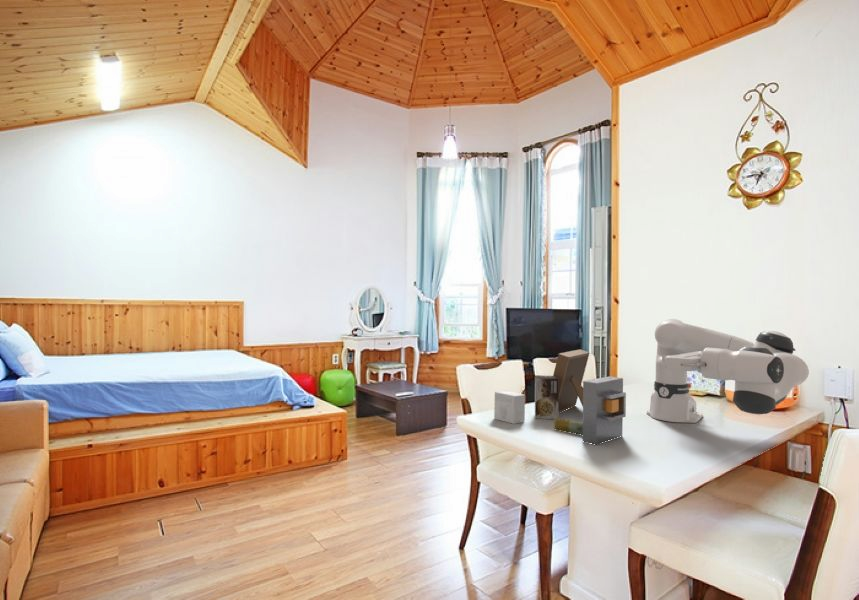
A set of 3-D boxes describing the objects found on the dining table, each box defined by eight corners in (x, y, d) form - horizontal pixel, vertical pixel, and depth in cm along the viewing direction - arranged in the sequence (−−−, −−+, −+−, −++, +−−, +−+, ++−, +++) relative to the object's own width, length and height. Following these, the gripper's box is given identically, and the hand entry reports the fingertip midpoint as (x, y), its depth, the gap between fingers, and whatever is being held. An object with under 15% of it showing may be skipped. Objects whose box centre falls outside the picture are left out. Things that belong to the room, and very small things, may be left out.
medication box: (588, 435, 167) (589, 423, 168) (585, 436, 166) (585, 425, 166) (557, 428, 176) (557, 417, 176) (553, 430, 174) (553, 418, 174)
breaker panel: (608, 433, 169) (609, 376, 169) (630, 438, 163) (631, 379, 163) (582, 441, 159) (583, 381, 159) (604, 447, 153) (605, 384, 153)
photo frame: (543, 413, 197) (545, 352, 196) (566, 404, 214) (567, 348, 213) (579, 420, 187) (581, 355, 187) (599, 410, 204) (601, 351, 204)
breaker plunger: (592, 405, 167) (593, 394, 167) (618, 411, 160) (618, 399, 160) (586, 407, 165) (586, 395, 165) (612, 412, 157) (612, 400, 157)
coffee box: (557, 415, 194) (557, 375, 193) (558, 419, 187) (559, 378, 187) (534, 414, 195) (534, 374, 195) (534, 418, 189) (535, 377, 189)
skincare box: (525, 421, 184) (525, 394, 184) (514, 424, 180) (514, 396, 180) (504, 416, 192) (505, 389, 192) (493, 418, 188) (493, 391, 188)
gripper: (696, 378, 132) (647, 371, 142) (726, 370, 145) (678, 365, 155) (697, 355, 132) (647, 350, 142) (726, 349, 144) (678, 345, 155)
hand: (663, 358), depth 149 cm, fingers closed
